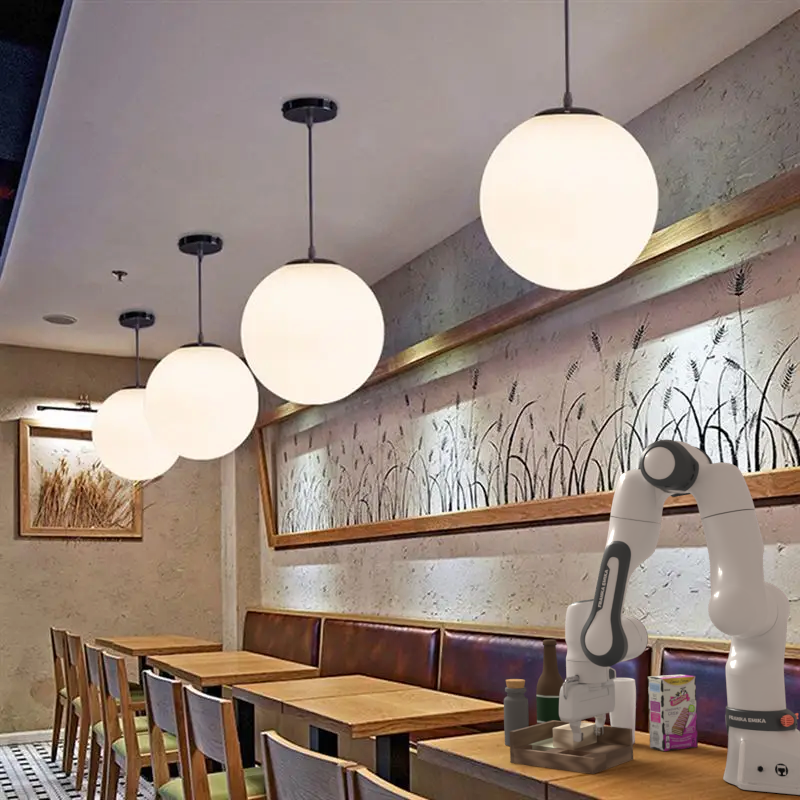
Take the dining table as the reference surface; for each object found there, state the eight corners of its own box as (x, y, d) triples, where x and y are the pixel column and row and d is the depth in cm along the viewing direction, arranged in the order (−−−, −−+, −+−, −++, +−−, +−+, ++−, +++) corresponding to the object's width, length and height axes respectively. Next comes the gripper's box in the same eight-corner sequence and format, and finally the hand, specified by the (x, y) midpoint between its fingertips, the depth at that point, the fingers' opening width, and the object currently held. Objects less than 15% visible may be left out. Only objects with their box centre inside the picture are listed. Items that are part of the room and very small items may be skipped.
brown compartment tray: (633, 759, 217) (632, 728, 218) (593, 774, 203) (592, 741, 204) (553, 749, 229) (552, 720, 231) (510, 762, 215) (509, 731, 216)
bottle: (500, 743, 237) (498, 679, 239) (520, 741, 239) (518, 678, 242) (513, 747, 232) (512, 682, 234) (534, 745, 234) (532, 680, 237)
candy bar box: (665, 752, 225) (661, 678, 228) (649, 748, 229) (646, 676, 232) (700, 747, 231) (696, 675, 233) (684, 744, 235) (680, 673, 238)
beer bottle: (561, 744, 236) (558, 641, 239) (531, 741, 240) (528, 640, 244) (573, 739, 242) (570, 639, 246) (544, 736, 246) (541, 638, 250)
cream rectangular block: (596, 742, 221) (596, 723, 222) (573, 749, 213) (572, 730, 214) (577, 739, 224) (576, 721, 225) (553, 747, 216) (552, 728, 217)
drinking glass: (638, 746, 232) (635, 681, 234) (609, 745, 233) (606, 680, 236) (637, 741, 238) (634, 677, 241) (609, 740, 240) (606, 677, 242)
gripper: (576, 678, 209) (578, 746, 207) (619, 670, 225) (622, 733, 223) (550, 676, 213) (552, 743, 211) (594, 668, 229) (596, 730, 227)
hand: (588, 738), depth 217 cm, fingers open, 8 cm apart
